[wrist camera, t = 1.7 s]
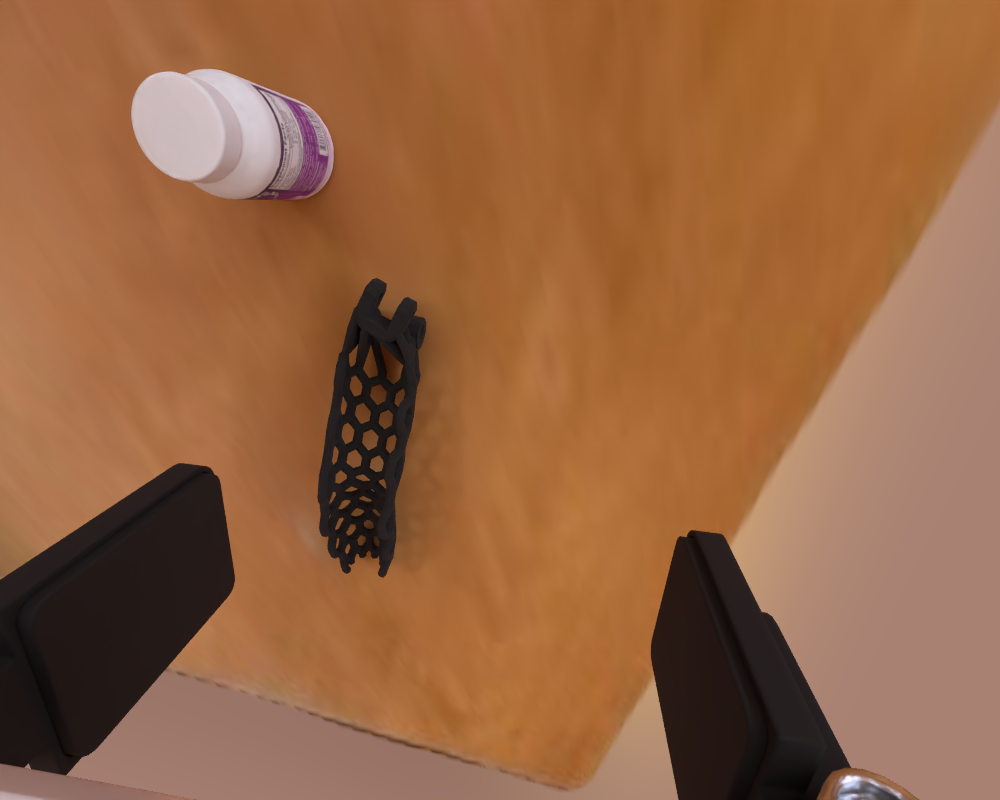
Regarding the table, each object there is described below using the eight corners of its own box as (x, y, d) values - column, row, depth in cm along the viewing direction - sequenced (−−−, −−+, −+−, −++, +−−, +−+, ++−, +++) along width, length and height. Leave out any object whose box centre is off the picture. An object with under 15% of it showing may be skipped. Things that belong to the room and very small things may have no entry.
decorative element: (404, 564, 39) (380, 622, 34) (342, 551, 39) (308, 606, 34) (439, 281, 31) (415, 297, 25) (360, 265, 31) (319, 278, 26)
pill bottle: (243, 180, 30) (108, 170, 21) (257, 83, 28) (114, 26, 19) (327, 214, 30) (229, 218, 21) (347, 120, 28) (248, 80, 19)
